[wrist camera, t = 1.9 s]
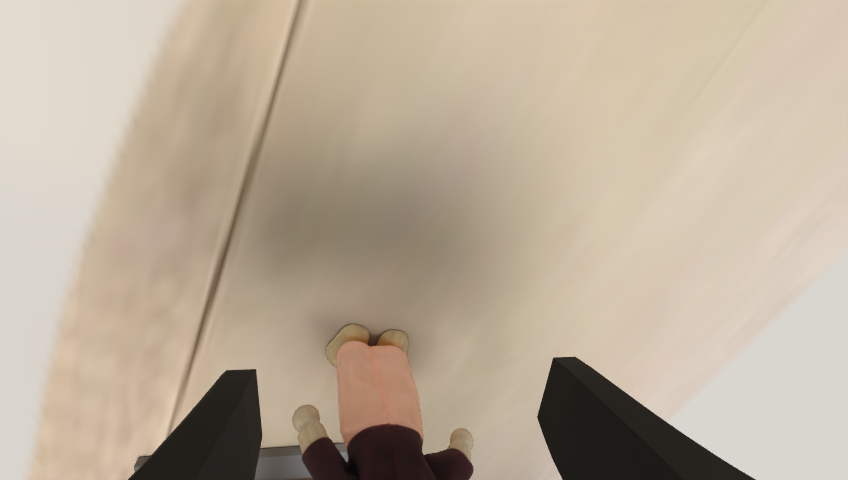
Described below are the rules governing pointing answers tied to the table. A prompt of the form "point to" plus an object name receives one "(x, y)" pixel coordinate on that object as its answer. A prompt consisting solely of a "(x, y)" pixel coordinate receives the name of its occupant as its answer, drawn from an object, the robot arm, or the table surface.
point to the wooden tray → (277, 463)
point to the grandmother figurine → (377, 418)
